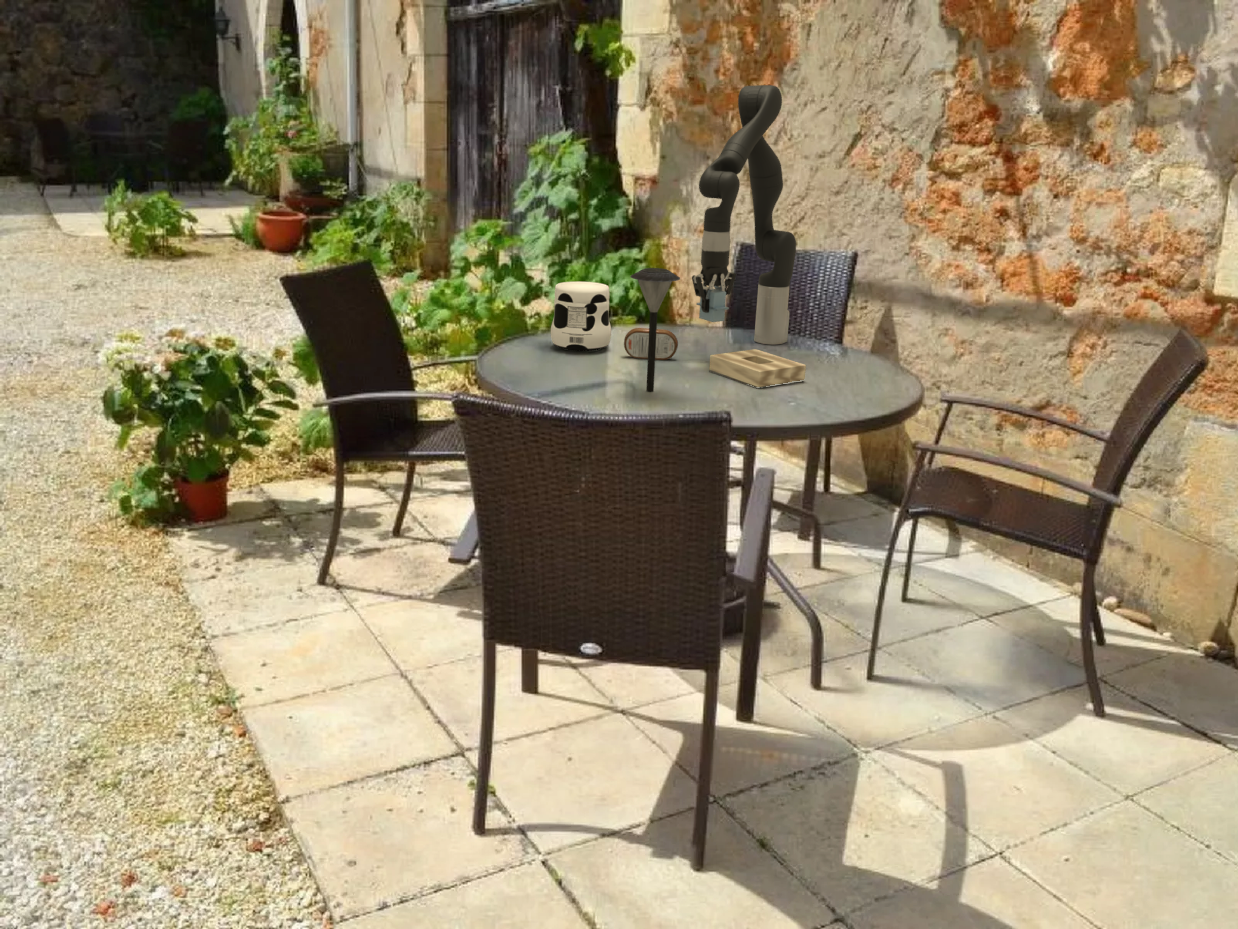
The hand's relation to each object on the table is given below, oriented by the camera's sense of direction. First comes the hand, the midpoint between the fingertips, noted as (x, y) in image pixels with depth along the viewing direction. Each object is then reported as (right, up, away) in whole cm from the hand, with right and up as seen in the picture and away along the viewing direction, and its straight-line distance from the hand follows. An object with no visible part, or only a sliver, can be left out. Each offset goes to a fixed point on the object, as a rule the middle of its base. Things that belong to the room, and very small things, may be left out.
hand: (712, 311), depth 294 cm
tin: (-17, -13, +7) cm, 22 cm away
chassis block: (+11, -19, -8) cm, 23 cm away
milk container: (-37, -9, +16) cm, 41 cm away
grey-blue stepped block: (0, -2, +1) cm, 2 cm away
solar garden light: (-18, -24, -26) cm, 39 cm away
